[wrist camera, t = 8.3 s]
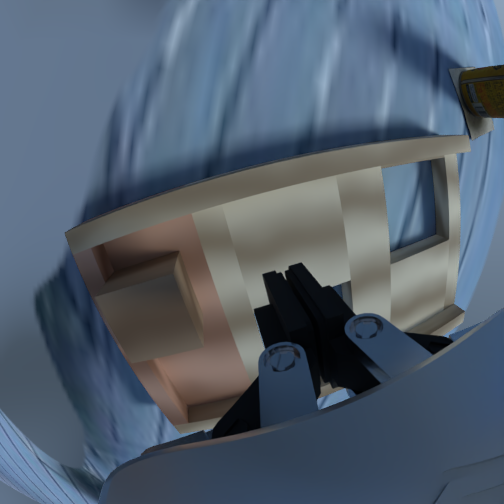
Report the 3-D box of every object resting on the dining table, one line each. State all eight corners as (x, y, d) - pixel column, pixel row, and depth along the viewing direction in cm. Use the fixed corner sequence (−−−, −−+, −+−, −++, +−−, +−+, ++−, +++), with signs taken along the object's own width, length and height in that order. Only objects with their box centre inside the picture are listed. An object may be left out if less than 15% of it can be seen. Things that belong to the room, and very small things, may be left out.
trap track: (88, 219, 18) (64, 232, 14) (439, 135, 20) (468, 135, 16) (180, 404, 24) (180, 433, 21) (442, 306, 27) (462, 321, 23)
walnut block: (114, 271, 17) (94, 297, 13) (179, 250, 17) (173, 273, 14) (141, 329, 19) (131, 363, 15) (203, 313, 19) (203, 347, 15)
